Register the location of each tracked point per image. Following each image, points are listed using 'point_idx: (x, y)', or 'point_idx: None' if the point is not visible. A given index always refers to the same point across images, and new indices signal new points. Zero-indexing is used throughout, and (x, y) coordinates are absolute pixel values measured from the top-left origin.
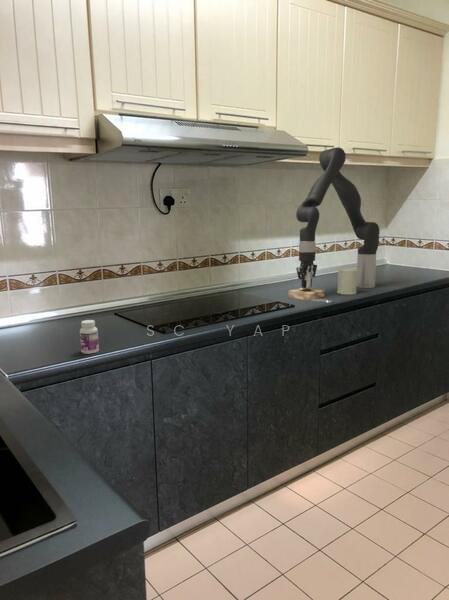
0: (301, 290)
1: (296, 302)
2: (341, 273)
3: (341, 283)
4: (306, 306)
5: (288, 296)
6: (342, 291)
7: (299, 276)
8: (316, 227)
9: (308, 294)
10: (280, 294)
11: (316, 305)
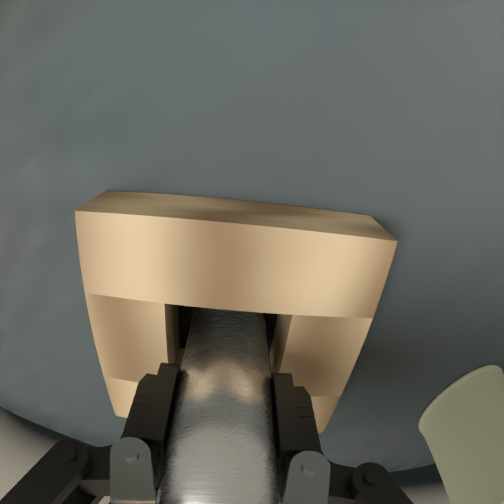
0: (215, 306)
1: (31, 335)
2: (472, 502)
3: (451, 453)
4: (26, 398)
5: (103, 193)
6: (429, 423)
7: (56, 474)
8: None
9: (115, 405)
10: (187, 30)
11: (74, 425)
